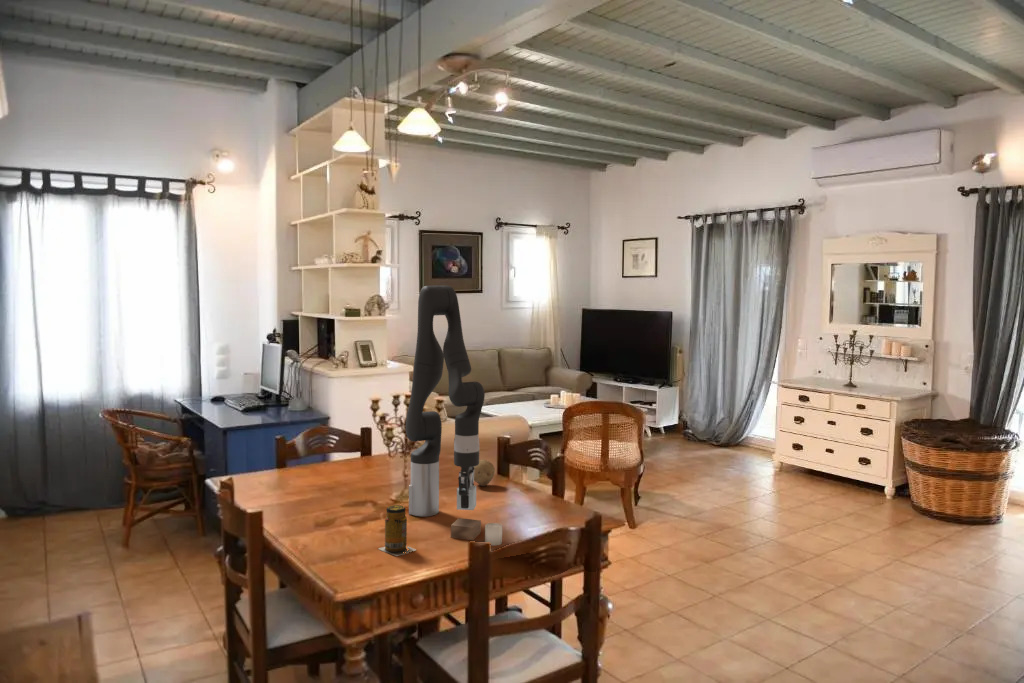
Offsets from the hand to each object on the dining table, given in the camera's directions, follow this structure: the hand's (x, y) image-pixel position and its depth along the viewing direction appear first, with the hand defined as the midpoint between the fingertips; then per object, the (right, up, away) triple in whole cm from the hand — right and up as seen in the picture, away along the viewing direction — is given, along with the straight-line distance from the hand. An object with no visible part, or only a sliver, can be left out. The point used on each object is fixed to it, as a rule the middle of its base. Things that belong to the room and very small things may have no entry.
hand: (466, 505), depth 220 cm
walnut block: (0, -9, +1) cm, 9 cm away
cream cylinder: (+8, -10, -5) cm, 14 cm away
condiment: (-19, -10, -12) cm, 25 cm away
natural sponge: (+3, -5, +54) cm, 54 cm away
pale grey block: (0, -1, 0) cm, 1 cm away
